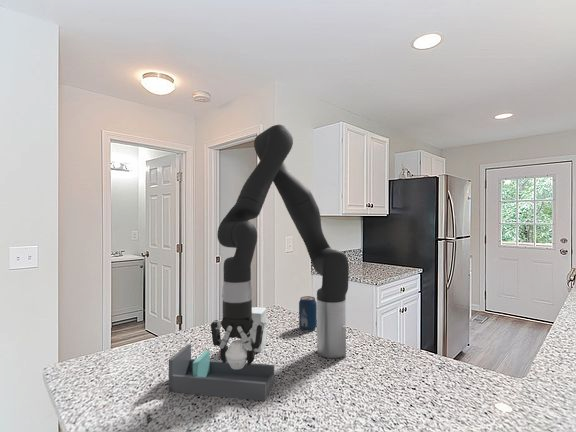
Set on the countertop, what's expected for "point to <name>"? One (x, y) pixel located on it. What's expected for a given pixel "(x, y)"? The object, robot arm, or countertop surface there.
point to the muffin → (237, 354)
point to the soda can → (307, 313)
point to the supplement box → (259, 317)
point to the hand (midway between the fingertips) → (237, 362)
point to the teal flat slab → (202, 364)
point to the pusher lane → (220, 378)
